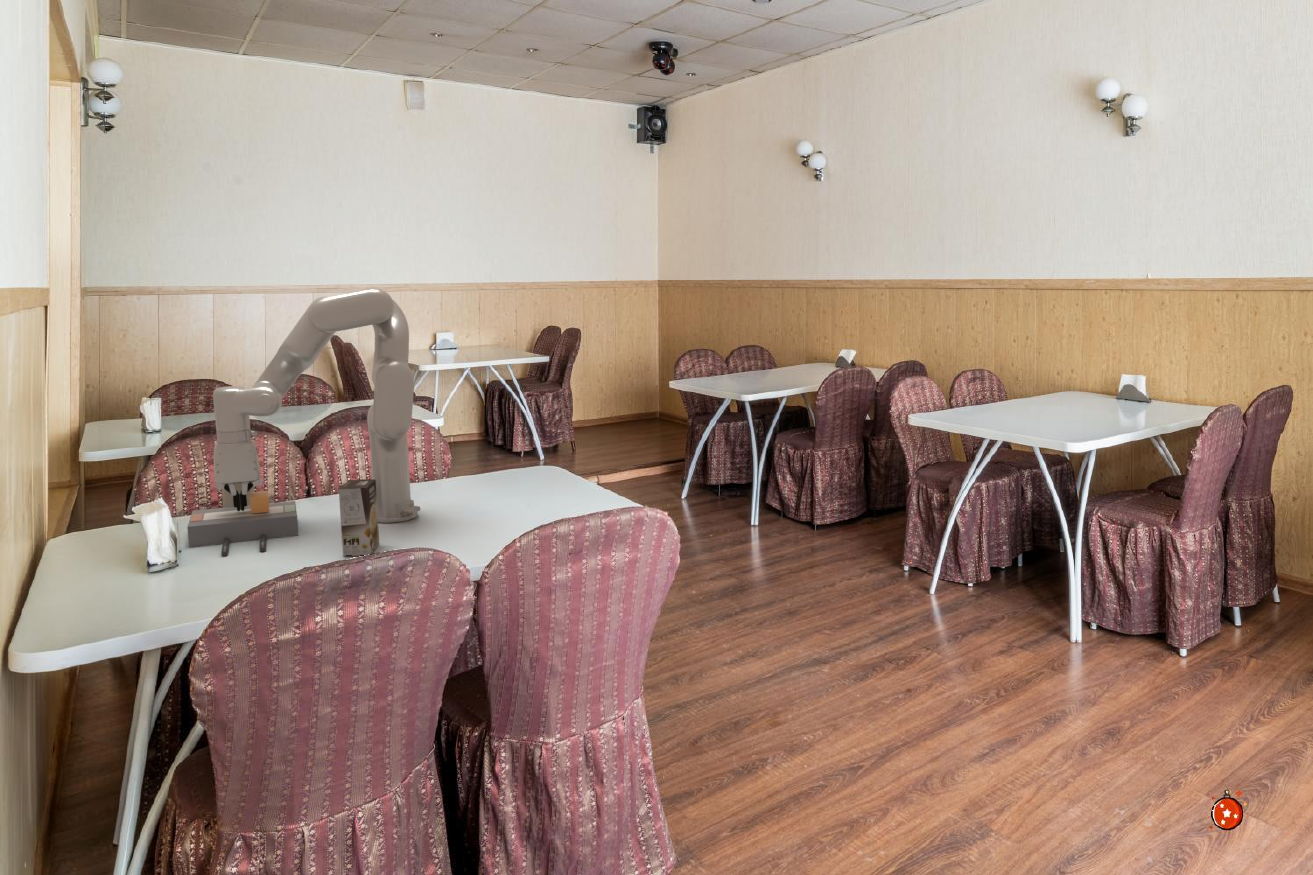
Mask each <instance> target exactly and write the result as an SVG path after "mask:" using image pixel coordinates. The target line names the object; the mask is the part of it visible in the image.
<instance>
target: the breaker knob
mask: <svg viewBox="0 0 1313 875" xmlns="http://www.w3.org/2000/svg"><path fill="white" fill-rule="evenodd" d="M269 500H270V499H269V490H266V491H265V490H264V491H255V492H251V493H250V503H251V514H252V513H262V512H269V503H270V501H269Z"/></svg>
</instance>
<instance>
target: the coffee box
mask: <svg viewBox="0 0 1313 875" xmlns="http://www.w3.org/2000/svg"><path fill="white" fill-rule="evenodd" d="M338 497H339V498H338V499H339V511H340V512H339V513H340V527H341V544H342V545H341V546H342V556H343V557H347V556H346V555H352V556H351V557H361V556H360V555H368V554H371V555H372V554H373V552H374V551H375V550H376V549H377V548H378V546H379V545H380V534H379V533H380V531H379V522H378V512H377V496H376V479H372V478H371V479H370V478H368V479H365V478H363V479H350V480H348V481H346V482H345V483H344V484H342V485H341V486H340V487H338ZM372 551H373V552H372Z"/></svg>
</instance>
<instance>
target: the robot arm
mask: <svg viewBox="0 0 1313 875" xmlns="http://www.w3.org/2000/svg"><path fill="white" fill-rule="evenodd" d="M367 326H372V327H373V331H374V332H373V333H374V352H373V365H372V372H371V379H372V380H371V381H372V383H373V385H374V388H373V389H374V390H373V403H372V404H371V405H370V407H369V409H368V412H367V416H366V417H367V420H366V422H367V429H368V430H367V431H368V439H369V440H368V441H369V450H370V452H369V454H370V464H371V465H370V469H371V479H376V496H377V512H378V523H384V524H385V523H386V524H387V523H390V524H391V523H399V522H405V521H409V520H411V519H414V518H417V517H418V514H419V512H420V511H421V506H418V505H415V502H414V501H415V500H414V499H411V498H412V497H411V496H412V495H411V481H410V462H409V461H410V460H409V459H410V458H409V444H408V442H409V440H408V432H409V431H410V428H411V425H412V421H413V420H412V419H413V408H414V407H413V406H414V395H415V394H414V391H415V377H414V374H413V371H412V369H411V368H410V366H409V358H410V357H409V355H410V329H409V325H408V320H407V317H406V316H405V313H404V312H403V310H402V309H401V307H400V306H399V304H398V303H397V302H396V301H395V300H394V299H393V298H392V296H391V295H390V294H389V293H388V292H386V291H385V290H383V289H381V288H375V287H369V288H368V287H367V288H365V289H362V290H361V291H354V292H351V293H347V294H346V293H345V294H344V293H343V294H338V295H334V296H333V295H332V296H320V297H317V298H315V299H314V300H313V301H312V302H311V303H310V305H309V306H308V307H307V309H305V312H304V313H303V314H302V316H301V317H300V319H299V320H298V321H297V322H296V324H295V325H294V326H293V328H292V330H291V331H290V333H289V334H288V335H287V337H286V338H285V339H284V341H283V342H282V344H281V345H280V346H279V348H278V349H277V351H276V354H274V357H273V358H272V359H271V361H270V362H269V364H267V366H266V367H265V369H264V370H263V372H262V373H261V374H260V376H259V377H258V379H257V380H256V381H255V383H254V384H253V386H251V387H249V388H245V387H243V386H238V385H236V386H235V385H234V386H232V385H231V386H230V385H228V386H221V387H216V388H215V389H214V390H213V392H212V393H213V394H212V399H213V408H214V419H215V429H216V432H215V433H216V441H217V442H215V443H214V446H213V473H214V474H213V476H214V485H213V486H214V489H218V490H222V489H225V490H226V491H228V492H229V493H230V494H231V495H232V496H233V503H234V507H237V511H240V509H241V510H242V511H244V507H245V506H247V497H246V494H247V492H248V491H249V490H250V489H251V488H252V487H254V488H255V487H257V486H261V485H262V484H263V480H262V477H261V465H260V459H259V452H258V446H257V443H256V441H255V440H253V438H255V437H258V431H257V430H252V429H251V422H250V420H251V419H250V416H253V417H270V416H273V415H275V414H276V413H278V411H279V410H280V409H281V407H282V403H283V402H282V400H283V398H284V397H285V396H286V395H287V393H288V392H289V390H290V388H292V386H293V385H294V383H295V382H296V381H297V379H298V378H299V377H300V376H301V375H302V374H303V373H304V372H305V371H306V370H308V369H309V368H311V366H312V365H313V364H314V363H315V362H316V360H317V359H318V357H319V356H320V355H321V354H322V352H323V351H324V349H325V348H326V347H327V345H328V343H329V342H330V340H331V339H332V338H333V337H334V335H335V333H336V332H341V331H348V330H353V329H357V328H358V329H359V328H363V327H367ZM248 482H249V483H248ZM235 483H242V490H241V492H240V495H239V494H238V491H237V489H236V486H235ZM240 505H241V506H240Z"/></svg>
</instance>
